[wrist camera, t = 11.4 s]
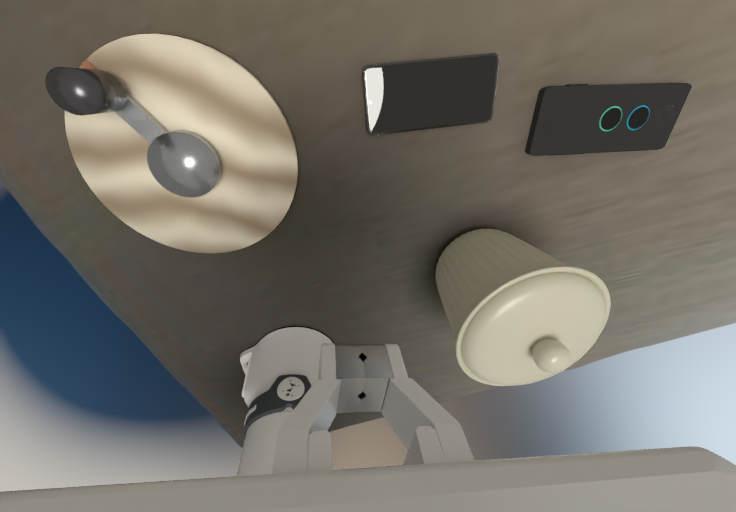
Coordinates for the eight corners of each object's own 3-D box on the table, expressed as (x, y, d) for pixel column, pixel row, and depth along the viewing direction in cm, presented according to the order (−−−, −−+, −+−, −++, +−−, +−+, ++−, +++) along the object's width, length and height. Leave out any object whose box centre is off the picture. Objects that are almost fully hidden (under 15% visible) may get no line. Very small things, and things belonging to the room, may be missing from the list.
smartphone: (493, 121, 37) (368, 136, 36) (489, 121, 38) (366, 135, 37) (501, 51, 34) (362, 64, 32) (496, 52, 35) (361, 65, 33)
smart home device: (664, 150, 41) (529, 157, 39) (652, 148, 43) (521, 154, 41) (695, 81, 37) (546, 85, 35) (681, 81, 39) (537, 85, 37)
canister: (414, 310, 52) (463, 431, 34) (420, 213, 43) (491, 307, 25) (512, 299, 54) (609, 409, 35) (538, 204, 44) (685, 285, 26)
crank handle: (235, 168, 35) (221, 181, 30) (195, 204, 36) (176, 221, 32) (115, 48, 28) (73, 41, 24) (72, 98, 30) (24, 100, 25)
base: (294, 254, 43) (293, 260, 42) (107, 240, 39) (99, 246, 38) (302, 61, 32) (301, 59, 31) (40, 11, 28) (24, 7, 26)
